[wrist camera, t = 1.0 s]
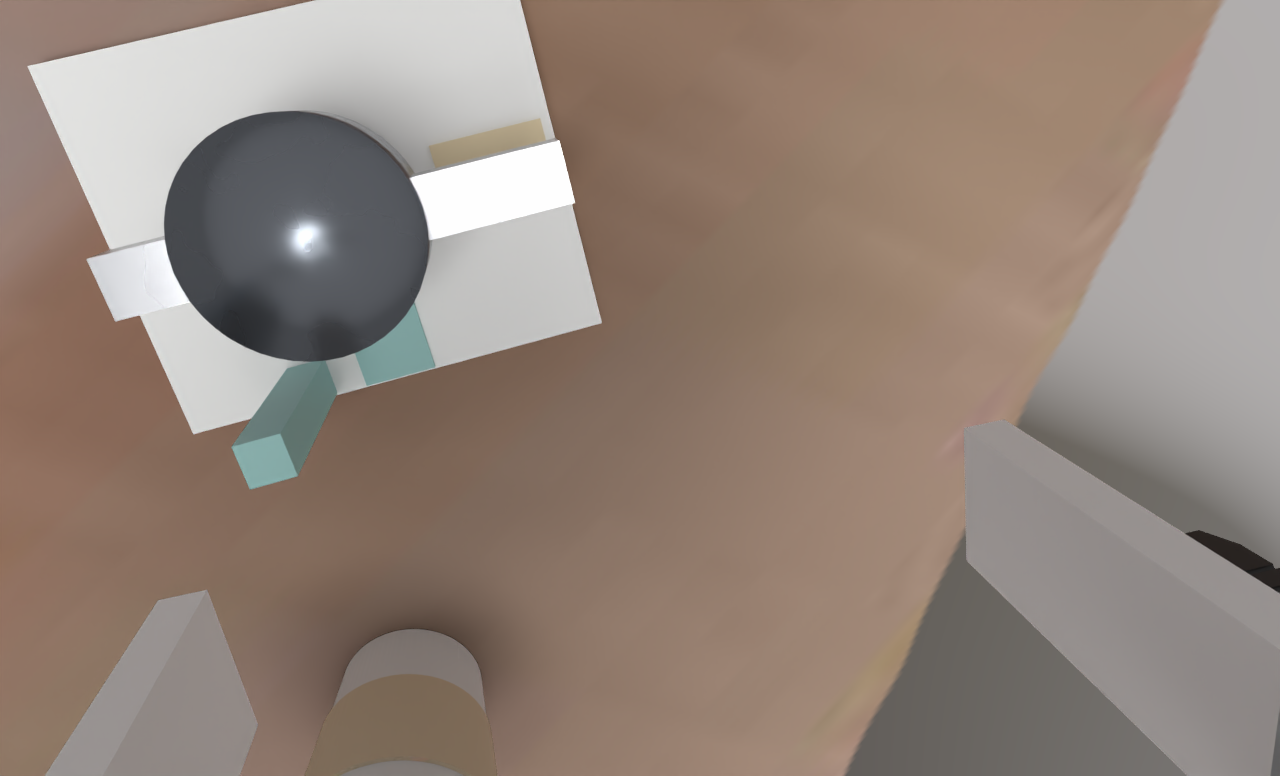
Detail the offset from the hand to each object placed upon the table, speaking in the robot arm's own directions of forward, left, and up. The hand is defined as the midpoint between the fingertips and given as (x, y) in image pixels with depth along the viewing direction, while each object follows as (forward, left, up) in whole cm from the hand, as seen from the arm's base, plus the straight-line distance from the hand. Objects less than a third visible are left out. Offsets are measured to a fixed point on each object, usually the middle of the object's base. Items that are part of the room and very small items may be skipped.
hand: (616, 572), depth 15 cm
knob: (-5, +5, -18) cm, 19 cm away
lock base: (-6, +5, -25) cm, 26 cm away
